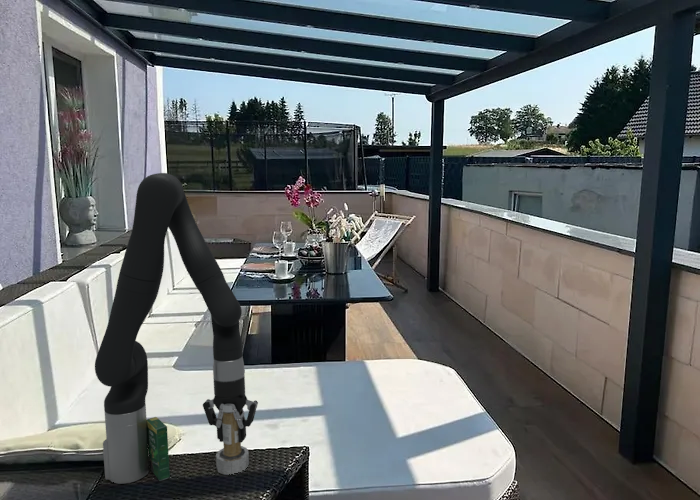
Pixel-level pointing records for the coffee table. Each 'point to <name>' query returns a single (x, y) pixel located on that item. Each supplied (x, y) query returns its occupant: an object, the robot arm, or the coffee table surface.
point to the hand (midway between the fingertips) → (232, 440)
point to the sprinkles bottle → (230, 432)
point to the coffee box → (158, 448)
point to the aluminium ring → (232, 462)
